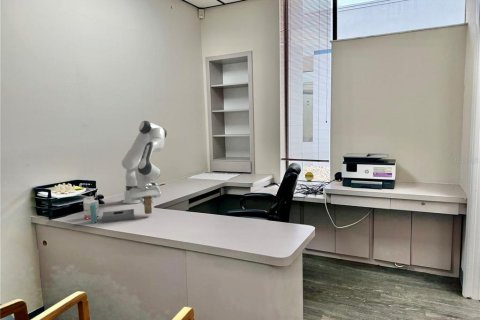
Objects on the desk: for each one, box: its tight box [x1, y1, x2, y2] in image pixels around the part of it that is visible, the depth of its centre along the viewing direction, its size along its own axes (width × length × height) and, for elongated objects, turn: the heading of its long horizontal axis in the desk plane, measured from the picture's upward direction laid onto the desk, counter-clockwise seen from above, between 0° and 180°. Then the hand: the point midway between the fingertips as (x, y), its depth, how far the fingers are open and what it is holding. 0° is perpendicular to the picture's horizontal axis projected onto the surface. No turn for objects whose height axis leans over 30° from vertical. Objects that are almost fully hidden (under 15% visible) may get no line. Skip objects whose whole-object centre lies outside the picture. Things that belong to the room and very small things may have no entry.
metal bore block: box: [101, 208, 135, 223], centre depth 224 cm, size 12×20×4 cm, turn 108°
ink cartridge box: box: [83, 195, 100, 220], centre depth 228 cm, size 9×5×15 cm, turn 149°
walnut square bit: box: [143, 195, 153, 215], centre depth 226 cm, size 4×4×12 cm
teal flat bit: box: [90, 203, 98, 224], centre depth 218 cm, size 7×2×12 cm, turn 18°
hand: (147, 203), depth 225 cm, fingers closed on walnut square bit, 4 cm apart
